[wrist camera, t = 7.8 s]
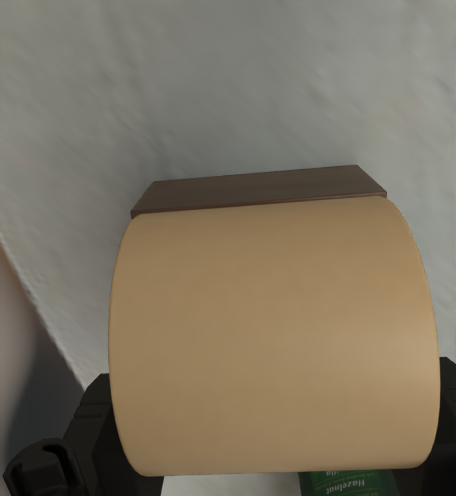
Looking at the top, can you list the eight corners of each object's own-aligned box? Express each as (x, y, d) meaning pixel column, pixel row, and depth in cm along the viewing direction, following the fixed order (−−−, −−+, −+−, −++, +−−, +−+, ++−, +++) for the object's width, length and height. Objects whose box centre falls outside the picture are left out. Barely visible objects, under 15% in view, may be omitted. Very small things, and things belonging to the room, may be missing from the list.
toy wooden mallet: (107, 165, 8) (81, 506, 6) (409, 139, 8) (491, 494, 6) (211, 320, 24) (213, 435, 22) (317, 314, 23) (330, 430, 21)
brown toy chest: (153, 181, 25) (125, 217, 19) (357, 164, 24) (393, 196, 18) (175, 316, 29) (158, 380, 23) (353, 306, 28) (381, 370, 22)
